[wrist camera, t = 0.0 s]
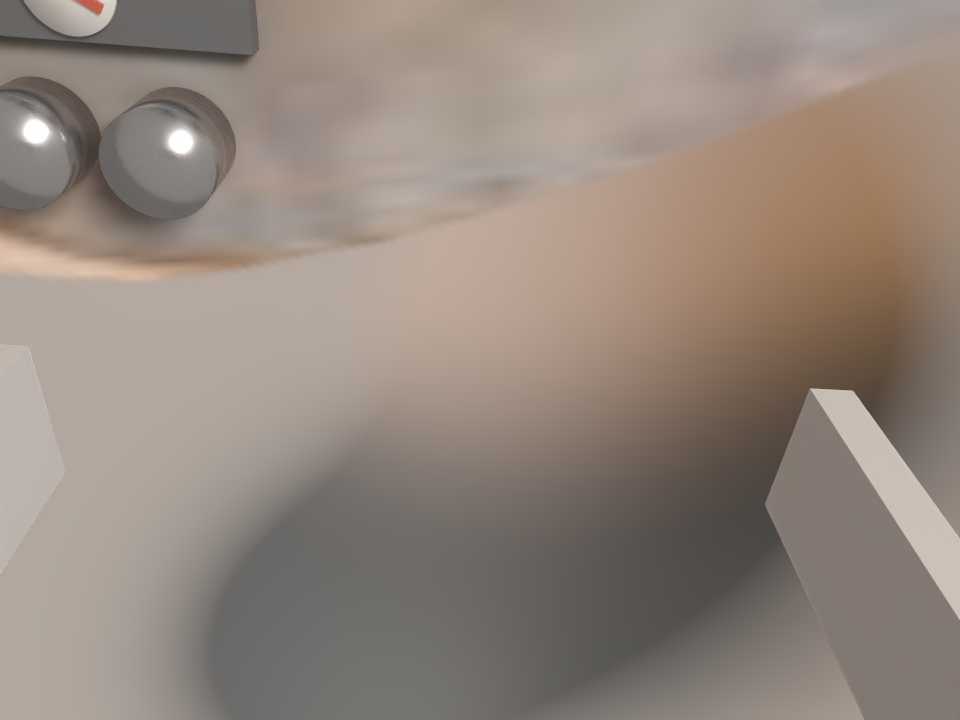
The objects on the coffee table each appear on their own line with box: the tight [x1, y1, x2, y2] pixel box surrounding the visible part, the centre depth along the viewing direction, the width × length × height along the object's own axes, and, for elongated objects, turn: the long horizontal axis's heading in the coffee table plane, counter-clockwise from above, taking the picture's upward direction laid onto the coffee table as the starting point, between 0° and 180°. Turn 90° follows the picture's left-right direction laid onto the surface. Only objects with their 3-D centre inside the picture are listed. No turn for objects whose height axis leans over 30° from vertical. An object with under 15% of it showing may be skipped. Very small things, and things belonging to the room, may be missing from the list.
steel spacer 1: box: [0, 77, 101, 210], centre depth 36 cm, size 5×5×4 cm
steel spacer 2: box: [99, 87, 236, 219], centre depth 36 cm, size 5×5×4 cm
